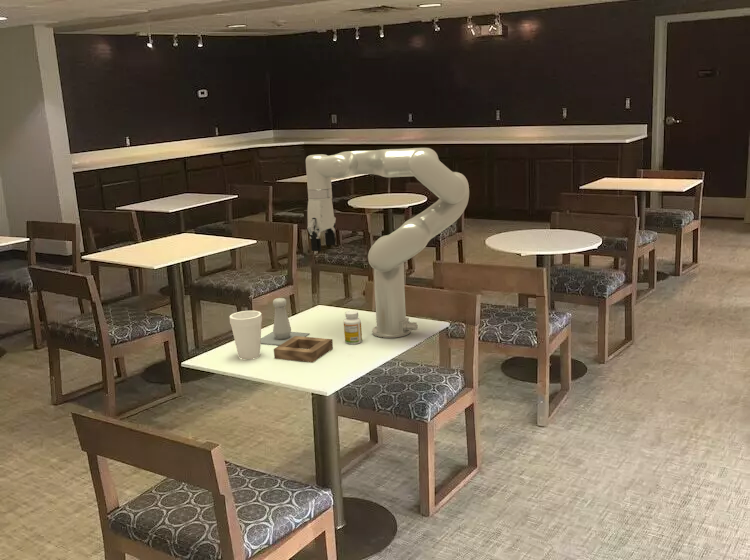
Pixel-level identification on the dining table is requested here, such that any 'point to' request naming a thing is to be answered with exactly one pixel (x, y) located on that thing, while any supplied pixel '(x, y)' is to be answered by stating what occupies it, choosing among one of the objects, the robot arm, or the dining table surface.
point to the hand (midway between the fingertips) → (323, 247)
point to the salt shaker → (281, 319)
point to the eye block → (303, 349)
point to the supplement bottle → (352, 328)
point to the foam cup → (247, 333)
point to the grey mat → (272, 339)
